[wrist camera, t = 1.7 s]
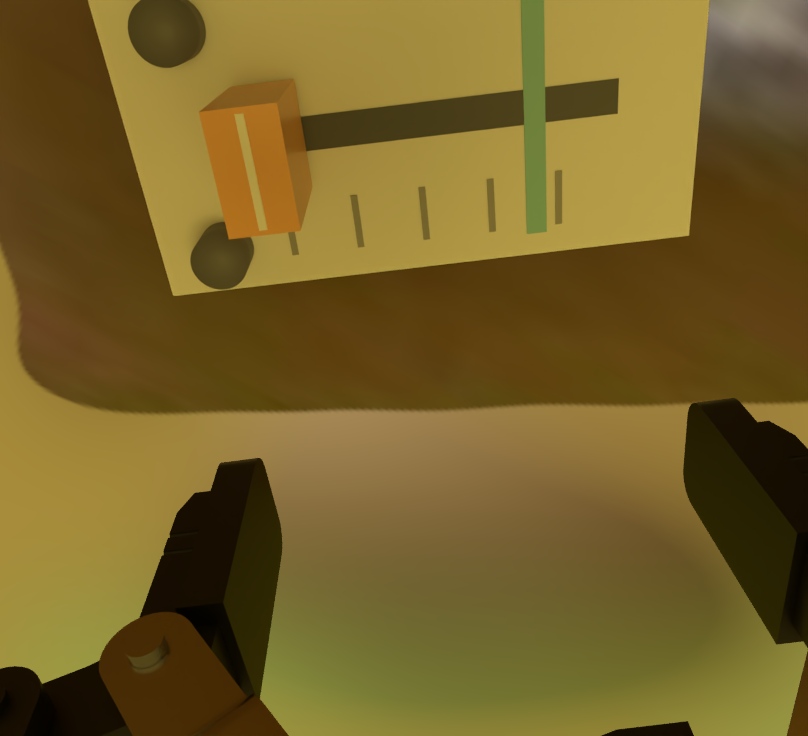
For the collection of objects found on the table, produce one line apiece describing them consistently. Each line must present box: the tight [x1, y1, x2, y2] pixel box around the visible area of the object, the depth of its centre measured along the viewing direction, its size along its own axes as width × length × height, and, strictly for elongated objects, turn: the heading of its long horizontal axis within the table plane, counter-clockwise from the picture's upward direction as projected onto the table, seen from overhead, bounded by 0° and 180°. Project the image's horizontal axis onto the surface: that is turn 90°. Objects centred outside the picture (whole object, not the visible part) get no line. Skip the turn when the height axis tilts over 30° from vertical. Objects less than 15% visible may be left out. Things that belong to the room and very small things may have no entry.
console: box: [88, 0, 710, 296], centre depth 30 cm, size 13×24×4 cm, turn 96°
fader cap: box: [199, 79, 313, 239], centre depth 27 cm, size 4×3×6 cm, turn 6°
